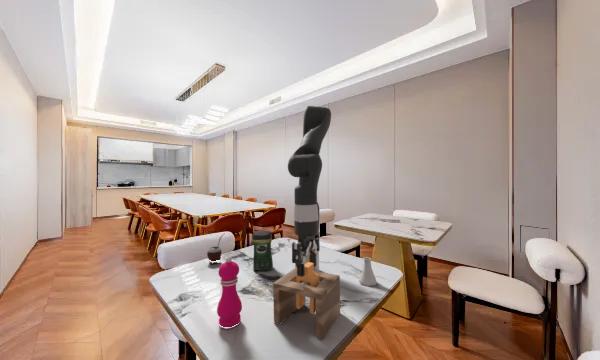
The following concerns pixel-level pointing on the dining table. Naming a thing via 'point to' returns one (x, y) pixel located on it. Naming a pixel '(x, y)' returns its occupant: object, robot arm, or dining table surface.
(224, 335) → the dining table surface
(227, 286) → the pepper mill
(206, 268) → the dining table surface
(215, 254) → the mate gourd
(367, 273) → the flask
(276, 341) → the dining table surface
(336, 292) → the brown square frame
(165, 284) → the dining table surface
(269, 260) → the coffee jar
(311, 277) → the stepped orange block
